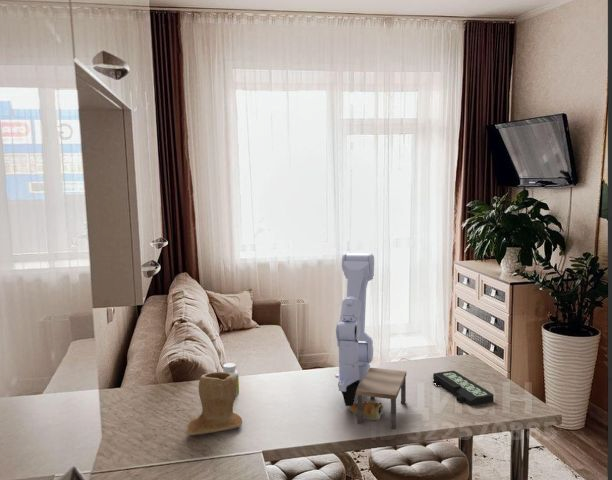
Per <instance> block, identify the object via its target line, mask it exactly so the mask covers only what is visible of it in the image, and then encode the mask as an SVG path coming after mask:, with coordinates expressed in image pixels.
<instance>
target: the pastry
mask: <svg viewBox="0 0 612 480" xmlns="http://www.w3.org/2000/svg"><path fill="white" fill-rule="evenodd" d="M349 408H350V410H351V413H352V414H353V415H355V416H357V402H354V404H353V405H351V406H349ZM362 410H363V419H367V420H370V421H378V420H380V418H381V416H382V415H383V414H384V413H385V409H384V406H383V404H382V402H379V403H378V402H375V401H373V400H369V401H362Z"/></svg>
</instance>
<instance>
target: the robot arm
mask: <svg viewBox="0 0 612 480" xmlns="http://www.w3.org/2000/svg"><path fill="white" fill-rule="evenodd" d="M341 269H342V272H343V275H344V277H345V279H346V280H347V281H346V284H347V285H346V297H345V298H344V299H343V300H342V303H341V310H340V315H339V322H337V323H336V329H335V335H336V336H335V337H336V342H337V343H336V345H337V347H338V372H337V373H335V378H336V379H338V384H337V385H338V386H337V387H338V391H339V392H341V394H342V397H343V402H344V405H345V406H346V407H350V406H351V405H353V404H355V398H356V390H357V388H358V387H359V385H360V384H361V382H362V380H363V379H364V377H365V376H366V374H367V372H368V371H369V369H370V368H371V365H370V364H371V363H372V362H373V358H374V357H373V356H374V344H373V343H374V341H373V338H372V337H371V336H370V335H368V334H367V333H366V332H365V331H366V330H365V327H366V306H367V304H366V303H367V302H366V301H367V286H368V283H369V282H370V281H372V280H373V279H374V276H375V256H374V254H373V252H372V253H351V252H350V253H347V252H344V253H343V255H342V257H341Z"/></svg>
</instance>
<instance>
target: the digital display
mask: <svg viewBox="0 0 612 480" xmlns="http://www.w3.org/2000/svg"><path fill="white" fill-rule="evenodd" d="M432 376H433V377H432V384H433V383H436V385H437V386H436V387H439V386H438V385H441V386H442V387H441V386H440V387H441V388H443V389H444V390H446V391H447V392H449V393H450V394H452V395H453V396H454V397H455V398H456V402H458V403H459V404H461V403H462V404H463V403H464V404H466V405H468V406H469V407H475V406H480V405H485V404H486V405H487V404H491V403H493V402H494V394H493V393H492V392H490V390H489V391H488V390H487V389H485V388H484V387H482V386H480V385H479V384H478V383H476V382H474V381H472V380H470V379H469V378H467V377H466V376H464V375H462V374H460V373H459V372H458V371H455V370H447V371H439V372H434V373H433V375H432ZM433 379H434V381H433Z"/></svg>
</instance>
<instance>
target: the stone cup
mask: <svg viewBox="0 0 612 480" xmlns="http://www.w3.org/2000/svg"><path fill="white" fill-rule="evenodd" d="M236 389H237V386H236V378H235V376H234V375H233V374H231V373H226V372H223V371H215V372H208V373H205V374H202V375H201V376H200V378H199V382H198V393H199V398H200V399H199V400H200V403H201V409H202V412H201V414H200V415H198V416H194V417H192V418H191V419H189V421H188V424H187V435H188V436H197V435H198V436H199V435H205V434H206V435H207V434H211V433H212V434H213V433H218V432H222V431H228V430H234V429H237V428H239V427H242V425H243V420H242V417H241V415H239V414H237V412H236V413H235V412H234V410H233V409H234V405H235V404H234V403H235V400H236V397H237V396H236Z"/></svg>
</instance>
